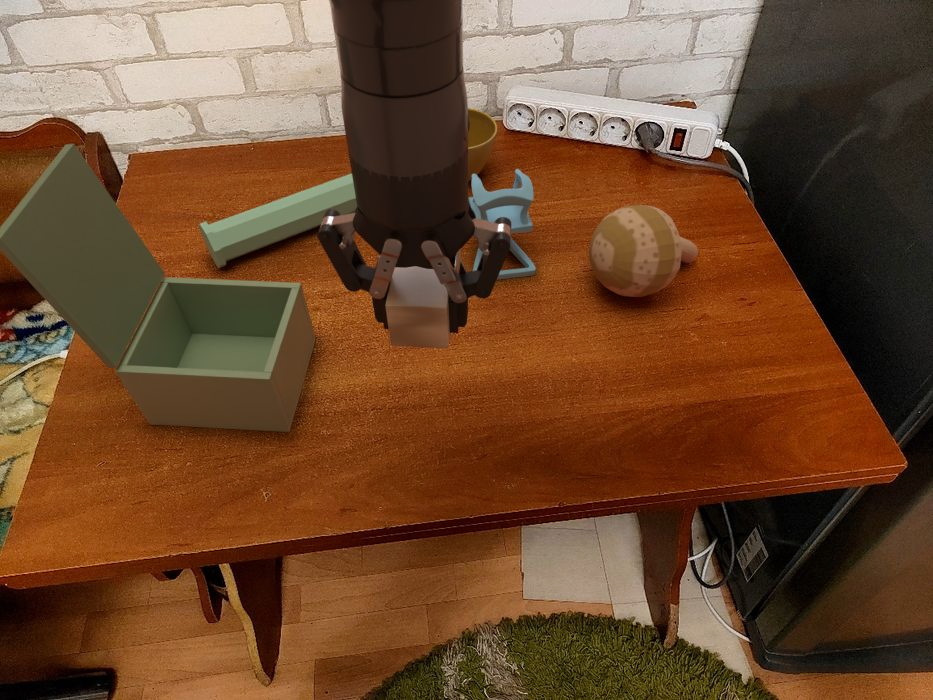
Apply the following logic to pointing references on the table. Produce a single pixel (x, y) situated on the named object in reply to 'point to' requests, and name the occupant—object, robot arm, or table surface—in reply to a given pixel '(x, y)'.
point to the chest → (220, 354)
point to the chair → (511, 207)
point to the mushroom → (638, 250)
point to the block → (417, 309)
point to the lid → (82, 255)
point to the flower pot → (479, 140)
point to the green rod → (277, 220)
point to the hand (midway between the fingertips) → (422, 322)
